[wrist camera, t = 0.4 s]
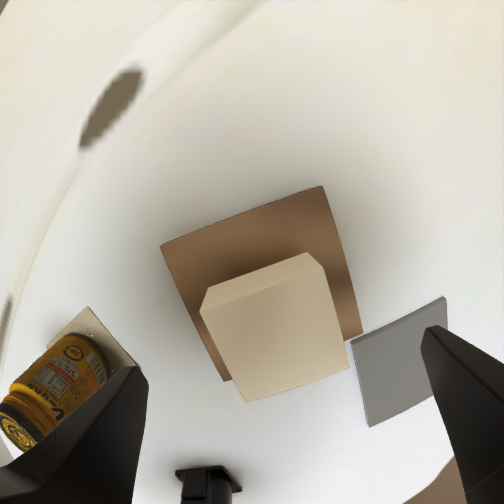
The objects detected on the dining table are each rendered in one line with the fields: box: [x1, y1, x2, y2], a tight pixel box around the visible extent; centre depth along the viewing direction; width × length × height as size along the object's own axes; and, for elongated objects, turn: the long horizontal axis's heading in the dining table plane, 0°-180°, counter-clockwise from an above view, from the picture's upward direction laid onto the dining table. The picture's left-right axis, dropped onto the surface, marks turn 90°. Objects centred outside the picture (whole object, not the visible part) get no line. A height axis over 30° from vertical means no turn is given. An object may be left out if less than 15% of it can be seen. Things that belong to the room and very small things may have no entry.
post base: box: [160, 186, 363, 381], centre depth 18 cm, size 12×12×7 cm
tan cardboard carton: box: [199, 252, 350, 403], centre depth 15 cm, size 6×6×4 cm
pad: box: [351, 297, 448, 428], centre depth 23 cm, size 12×10×1 cm
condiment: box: [0, 307, 137, 453], centre depth 16 cm, size 7×8×12 cm
